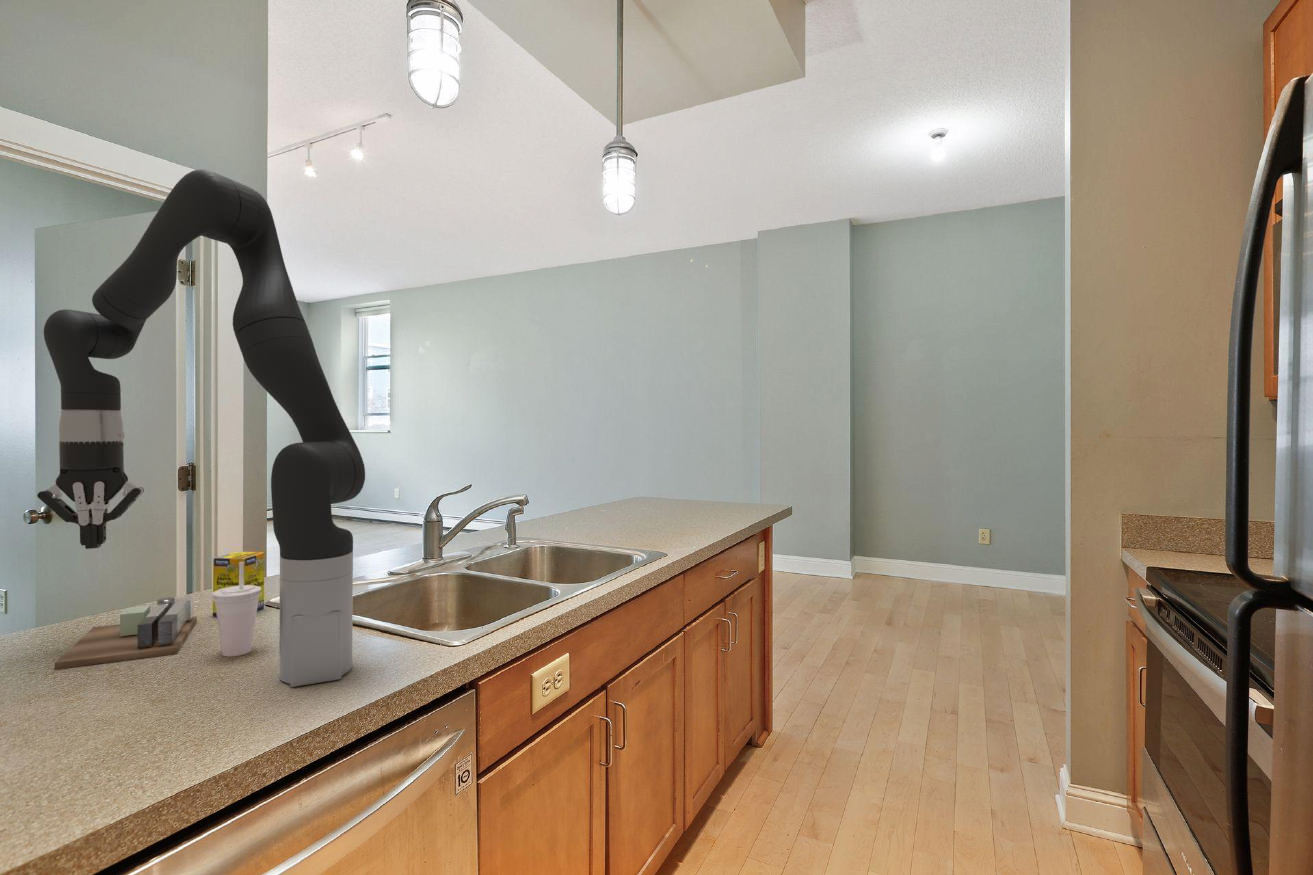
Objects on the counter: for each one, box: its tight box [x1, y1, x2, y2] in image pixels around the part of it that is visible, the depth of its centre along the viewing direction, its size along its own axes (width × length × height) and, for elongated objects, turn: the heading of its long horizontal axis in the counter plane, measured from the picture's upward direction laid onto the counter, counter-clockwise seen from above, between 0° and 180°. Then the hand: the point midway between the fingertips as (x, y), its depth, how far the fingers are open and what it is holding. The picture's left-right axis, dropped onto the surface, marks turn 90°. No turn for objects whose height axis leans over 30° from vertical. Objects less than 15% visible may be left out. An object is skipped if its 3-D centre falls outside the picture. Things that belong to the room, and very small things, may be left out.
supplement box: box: [212, 551, 266, 618], centre depth 115 cm, size 6×6×11 cm
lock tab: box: [119, 605, 151, 636], centre depth 101 cm, size 4×3×4 cm
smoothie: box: [211, 562, 262, 658], centre depth 96 cm, size 6×6×14 cm
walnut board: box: [53, 615, 198, 671], centre depth 99 cm, size 17×14×1 cm
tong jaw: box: [138, 604, 169, 648], centre depth 99 cm, size 12×2×4 cm, turn 28°
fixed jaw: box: [156, 596, 194, 646], centre depth 101 cm, size 15×5×4 cm, turn 28°
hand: (93, 547), depth 98 cm, fingers closed
